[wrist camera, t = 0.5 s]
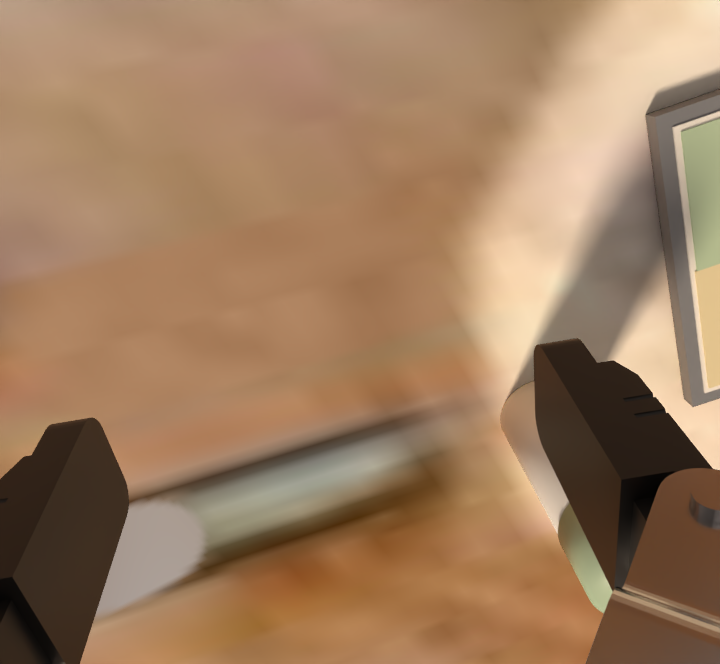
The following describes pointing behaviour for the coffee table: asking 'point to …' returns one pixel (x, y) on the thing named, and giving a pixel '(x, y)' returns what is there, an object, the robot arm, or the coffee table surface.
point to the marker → (552, 492)
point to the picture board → (691, 234)
